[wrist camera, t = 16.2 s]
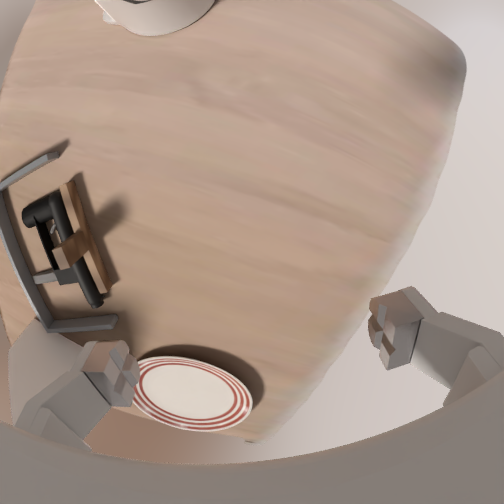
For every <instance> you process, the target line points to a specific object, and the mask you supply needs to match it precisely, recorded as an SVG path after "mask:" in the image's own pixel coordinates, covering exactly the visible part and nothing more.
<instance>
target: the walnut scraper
mask: <svg viewBox="0 0 504 504" xmlns="http://www.w3.org/2000/svg"><path fill="white" fill-rule="evenodd" d="M59 188H60V191H61V195H62V198H63V201H64V204H65V208H66V211H67V214H68V217H69V219H70V222H71V225H72V228H73V231H74V233H75V234H73V235H71V236H70V237H69V238H67V239H66V240H64V241H63V242H62V243H61V244H59V245H58V246H57V247H55V248H54V249H53V250H52V252H53V254H54V257H55V259H56V261H57V264H58V266H59V268H60V270H63V269H67V268H70V267H71V266H72V265H73V264H74V263H75V262H76V261H78V260H79V259H80V258H81V257H82V256H84V259H85V261H86V263H87V266H88V268H89V270H90V273H91V275H92V277H93V279H94V281H95V283H96V286H97V288H98V290H99V292H100V294H101V293H106V292H108V291H109V289H110V288H111V287H112V283H111V280H110V278H109V276H108V274H107V271H106V269H105V267H104V264H103V262H102V259H101V257H100V255H99V252H98V250H97V247H96V244H95V242H94V239H93V237H92V234H91V231H90V228H89V226H88V223H87V220H86V217H85V214H84V211H83V208H82V205H81V202H80V199H79V195H78V192H77V189H76V185H75V182H74V180H73V181H71V182H68V183H66V184H63V185H61V186H59Z"/></svg>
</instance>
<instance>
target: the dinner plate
mask: <svg viewBox="0 0 504 504" xmlns="http://www.w3.org/2000/svg"><path fill="white" fill-rule="evenodd" d="M138 364H139V367H140V379H139V382H138V384H136V385H135V386H134V387H133V389H134V391H135V395H134V398H133V401H132V402H133V403H134V404H135V405H136V406H137V407H138V408H139V409H140V410H141V411H143V412H144V413H145V414H147V415H148V416H150V417H152V418H154V419H155V420H157V421H159V422H162V423H164V424H167V425H170V426H173V427H176V428H180V429H185V430H191V431H218V430H223V429H227V428H230V427H232V426H235V425H237V424H239V423H240V422H242V421H243V420H244V419H245V418H246V417H247V416H248V415H249V413H250V412H251V409H252V406H253V400H252V396H251V394H250V392H249V390H248V389H247V387H246V386H245V385H244V384H243V383H242V382H241V381H240V380H239V379H237V378H236V377H235V376H233V375H232V374H230V373H228V372H226V371H225V370H223V369H220V368H218V367H216V366H214V365H211V364H208V363H205V362H202V361H199V360H195V359H190V358H185V357H177V356H158V357H150V358H146V359H143V360H140V361H138Z"/></svg>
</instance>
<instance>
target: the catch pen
mask: <svg viewBox="0 0 504 504" xmlns="http://www.w3.org/2000/svg"><path fill="white" fill-rule="evenodd" d="M57 158H59V154H58V152H53V153H48V154H45V155H44V156H42V157H40V158H38V159H37V160H35V161H33V162H32V163H30V164H28V165H27V166H25V167H24V168H22V169H20V170H19V171H17V172H16V173H14V174H13V175H11V176H10V177H8V178H7V179H5V180H4V181H3V182H1V183H0V236H1V239H2V241H3V244H4V247H5V249H6V252H7V254H8V257H9V259H10V262H11V264H12V267H13V269H14V271H15V273H16V276H17V278H18V280H19V282H20V284H21V286H22V288H23V290H24V292H25V294H26V296H27V298H28V300H29V302H30V304H31V306H32V308H33V310H34V311H35V313H36V315H37V317H38V318H39V320H40V322H41V324H42V325H43V327H44V329H45V330H46V332H47V333H63V332H81V331H95V330H108V329H113V328H114V326H115V324H116V322H117V320H118V317H117V315H116V314H113V315H104V316H95V317H86V318H76V319H65V320H54V319H53V317H52V315H51V314H50V312H49V310H48V308H47V306H46V304H45V303H44V301H43V299H42V297H41V295H40V293H39V291H38V289H37V287H36V285H35V283H34V280H33V278H32V276H31V274H30V272H29V269H28V267H27V265H26V262H25V260H24V258H23V255H22V253H21V250H20V248H19V245H18V242H17V240H16V237H15V234H14V231H13V228H12V225H11V222H10V219H9V216H8V213H7V209H6V206H5V202H4V199H3V195H2V191H3V190H4V189H6V188H7V187H9V186H11V185H12V184H14V183H15V182H17V181H18V180H20V179H22V178H23V177H25V176H27V175H28V174H30V173H32V172H33V171H35V170H37V169H39V168H41V167H42V166H44V165H46V164H48V163H50V162H52V161H53V160H55V159H57Z"/></svg>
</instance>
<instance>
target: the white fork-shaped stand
mask: <svg viewBox="0 0 504 504" xmlns="http://www.w3.org/2000/svg"><path fill="white" fill-rule="evenodd" d="M82 349H83V347H82V346H80V345H78V344H76V343H75V342H73V341H71V340H69V339H67V338H66V337H64V336H62V335H61V334H59V333H47V332H46V330H45V329H44V327H43V325H42V324H41V322H39V321H38V320H36V319H35V318H34V319H33V320H32V321H31V323H30V324H29V325H28V326H27V328H26V329H25V330H24V331H23V333H22V334H21V335H20V336H19V338H18V339H17V340H16V342H15V343H14V344H13V346H12V347H11V348H10V350H9V351H8V369H9V370H8V372H9V392H10V404H11V413H12V421H13V426H15V424H16V422H17V420H18V418H19V416H20V414H21V412H22V410H23V408H24V406H25V404H26V402H27V401H29V400H30V399H31V398H32V397H34V396H35V395H36V394H38V393H39V392H40V391H41V390H43V389H44V388H45V387H47V386H48V385H49V384H51V383H52V382H53V381H55V380H56V379H57V378H58V377H60V376H61V375H62V374H64V373H65V372H66V371H70V370H71V368H72V366H73V364H74V363H75V361H76V359H77V357H78V356H79V354H80V352H81V350H82Z"/></svg>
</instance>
